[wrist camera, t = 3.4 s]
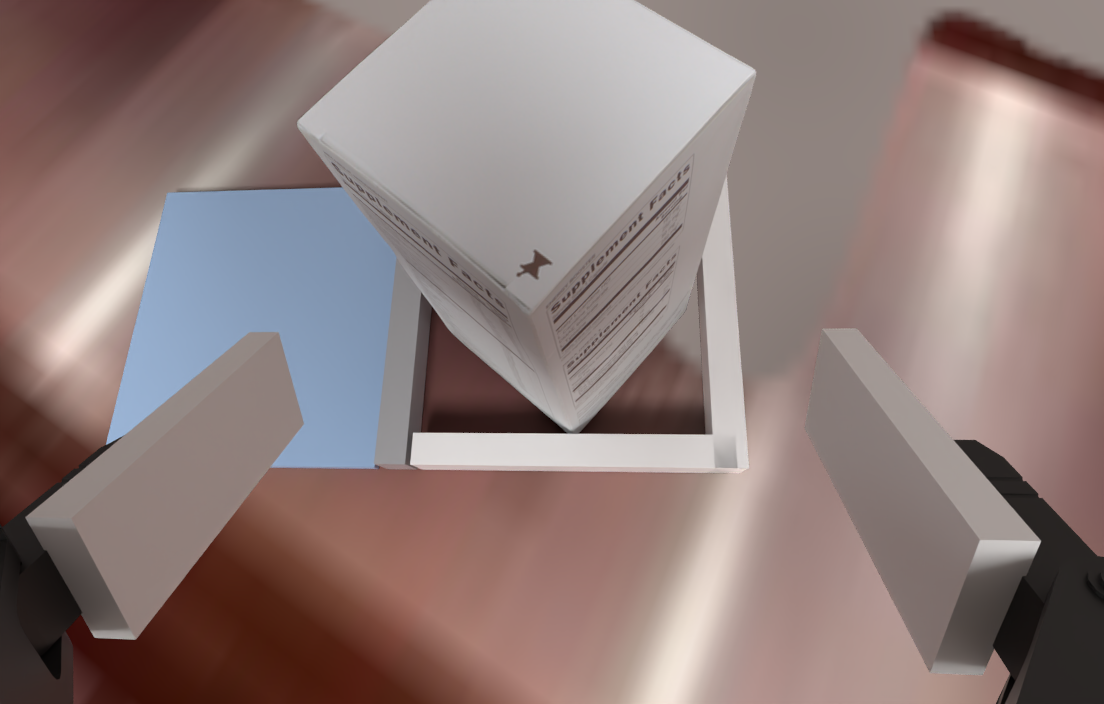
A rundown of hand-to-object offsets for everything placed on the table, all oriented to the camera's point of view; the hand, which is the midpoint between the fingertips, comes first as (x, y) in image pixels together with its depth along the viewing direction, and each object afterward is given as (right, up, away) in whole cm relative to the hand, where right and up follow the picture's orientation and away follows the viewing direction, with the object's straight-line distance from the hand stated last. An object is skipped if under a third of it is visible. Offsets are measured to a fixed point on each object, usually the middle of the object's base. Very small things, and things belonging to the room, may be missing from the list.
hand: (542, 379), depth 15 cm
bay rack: (-7, +2, +18) cm, 19 cm away
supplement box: (+1, +2, +17) cm, 18 cm away
